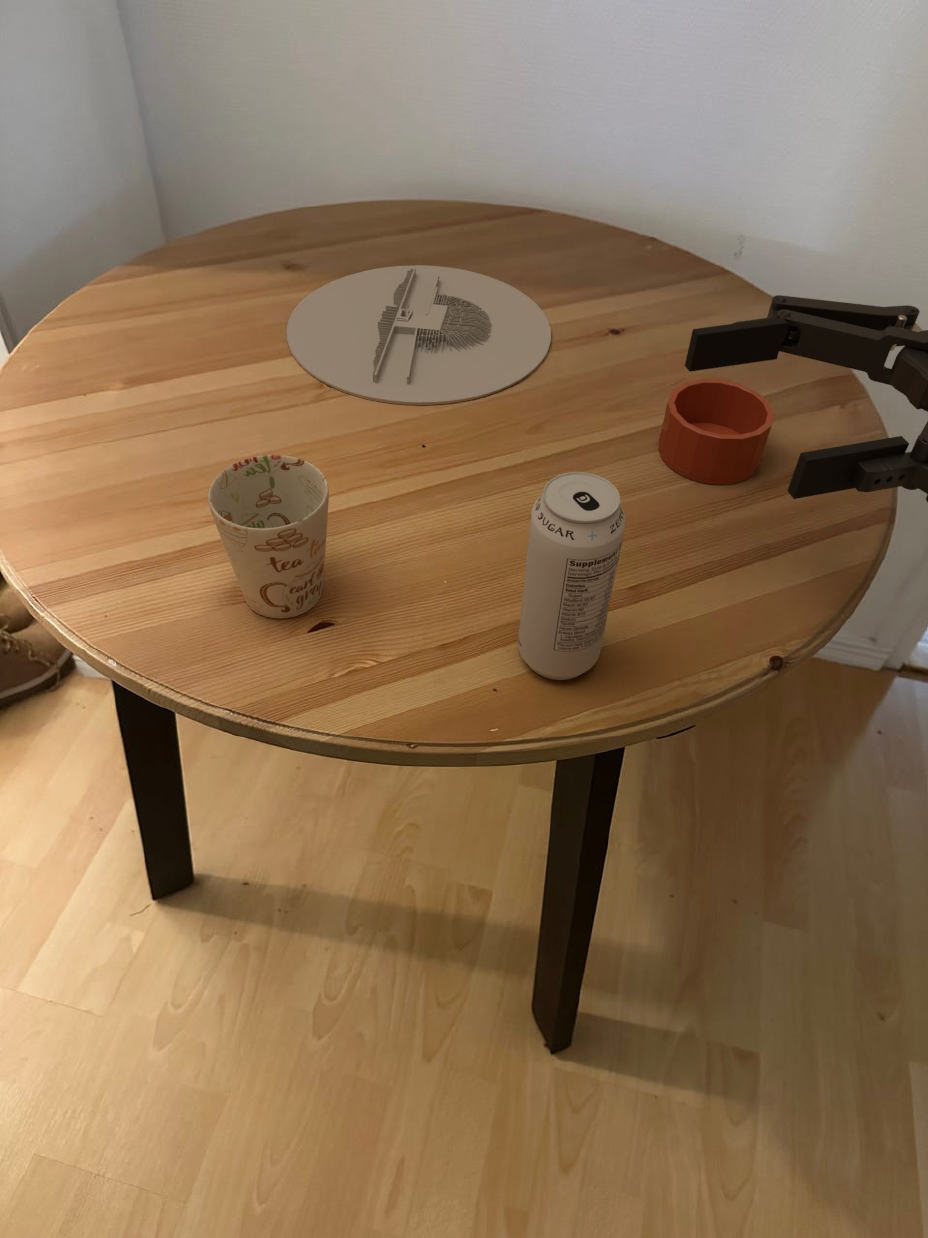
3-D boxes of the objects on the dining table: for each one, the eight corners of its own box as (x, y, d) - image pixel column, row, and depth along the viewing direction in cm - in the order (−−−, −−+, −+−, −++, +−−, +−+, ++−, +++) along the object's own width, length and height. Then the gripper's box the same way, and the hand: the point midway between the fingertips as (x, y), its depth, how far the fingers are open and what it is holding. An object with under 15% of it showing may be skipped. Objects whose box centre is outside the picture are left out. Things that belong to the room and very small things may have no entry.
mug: (233, 638, 70) (211, 536, 63) (222, 528, 79) (201, 427, 71) (345, 621, 72) (336, 520, 65) (322, 515, 80) (312, 415, 73)
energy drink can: (567, 614, 73) (592, 455, 62) (614, 666, 70) (649, 508, 59) (501, 642, 71) (515, 483, 60) (546, 697, 67) (569, 539, 56)
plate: (325, 256, 112) (324, 246, 111) (561, 281, 110) (563, 271, 109) (251, 386, 93) (250, 376, 92) (536, 420, 91) (537, 409, 90)
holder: (778, 454, 88) (793, 408, 84) (723, 498, 83) (737, 452, 80) (695, 412, 92) (706, 367, 89) (638, 452, 88) (648, 406, 84)
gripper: (1140, 528, 57) (830, 592, 53) (899, 321, 73) (646, 355, 69) (1216, 424, 52) (877, 485, 47) (937, 224, 68) (665, 255, 63)
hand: (739, 408), depth 58 cm, fingers open, 13 cm apart
